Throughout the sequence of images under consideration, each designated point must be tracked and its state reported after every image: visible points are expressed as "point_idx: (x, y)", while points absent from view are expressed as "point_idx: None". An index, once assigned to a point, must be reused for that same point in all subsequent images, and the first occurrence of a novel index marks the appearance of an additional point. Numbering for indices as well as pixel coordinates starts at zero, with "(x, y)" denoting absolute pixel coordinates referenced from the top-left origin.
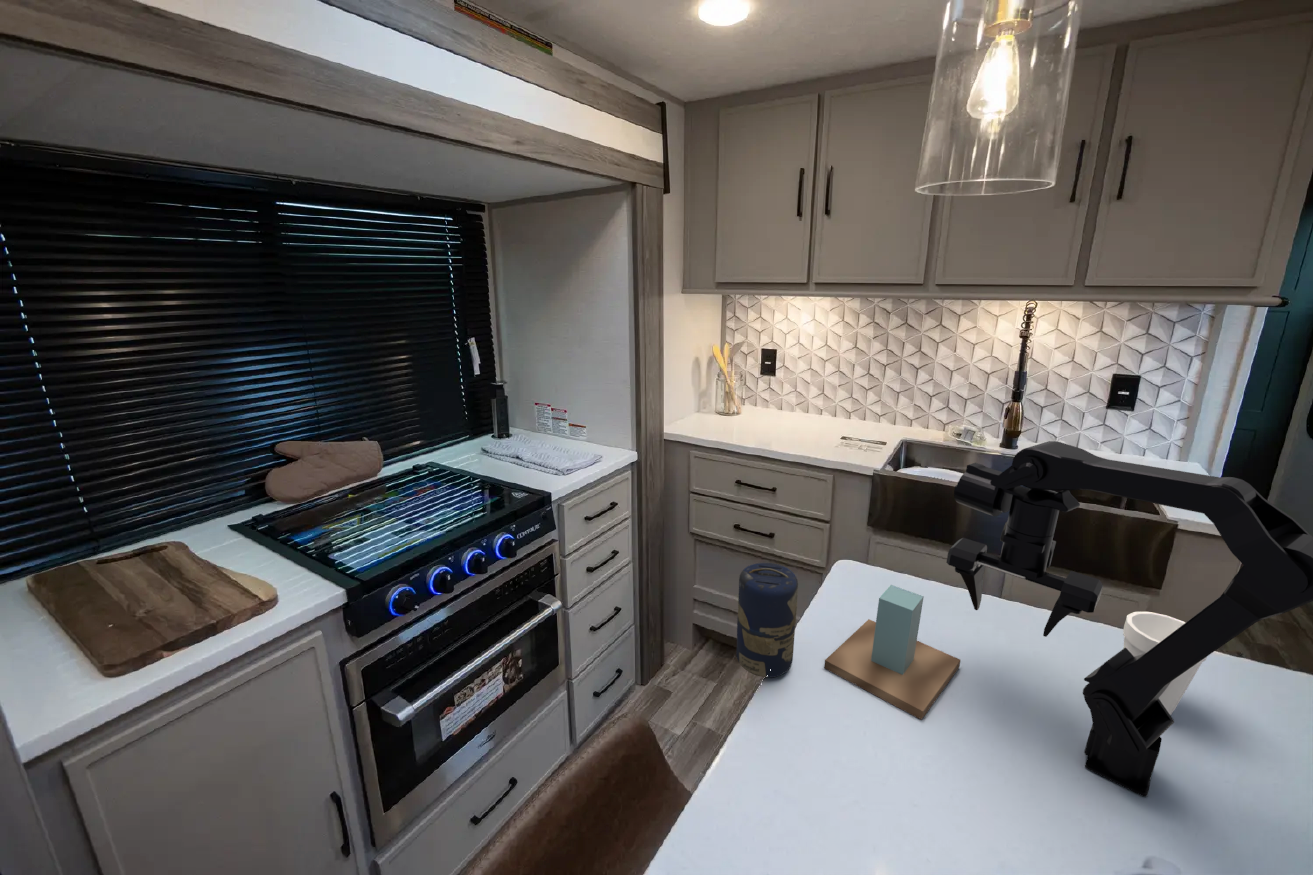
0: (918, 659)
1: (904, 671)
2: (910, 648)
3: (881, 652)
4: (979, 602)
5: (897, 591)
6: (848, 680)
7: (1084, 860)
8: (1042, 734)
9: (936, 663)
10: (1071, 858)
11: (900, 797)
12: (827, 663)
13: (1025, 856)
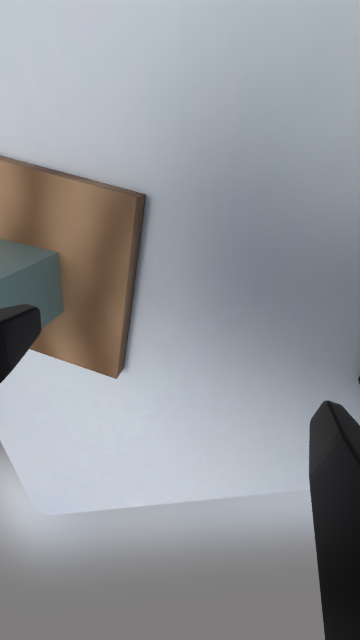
0: (65, 249)
1: (60, 306)
2: None
3: None
4: (11, 342)
5: None
6: None
7: (304, 487)
8: (301, 329)
9: (97, 244)
10: (291, 487)
11: (136, 462)
12: None
13: (246, 490)
